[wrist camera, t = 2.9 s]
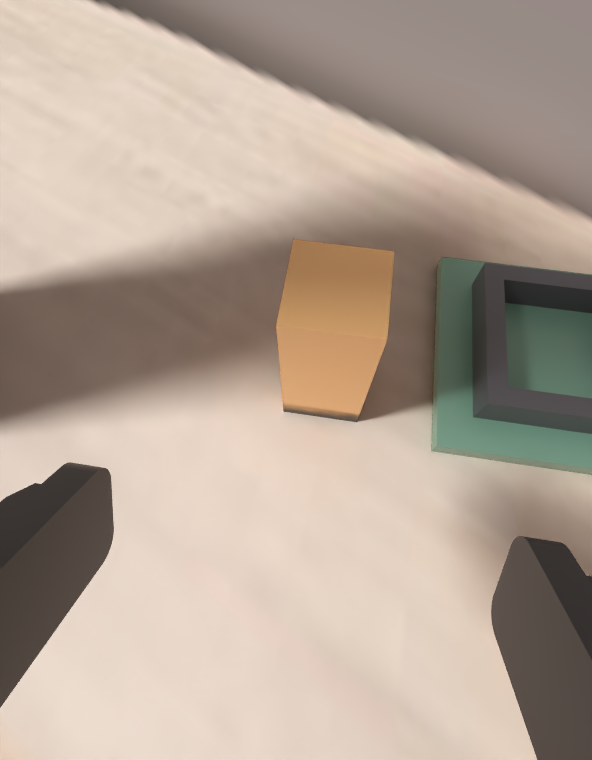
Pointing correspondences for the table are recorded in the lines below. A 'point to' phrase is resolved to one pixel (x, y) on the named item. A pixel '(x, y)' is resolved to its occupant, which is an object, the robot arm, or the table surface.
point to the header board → (513, 364)
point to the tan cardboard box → (332, 327)
